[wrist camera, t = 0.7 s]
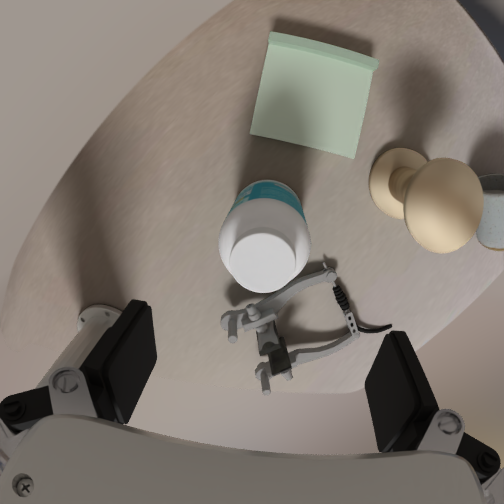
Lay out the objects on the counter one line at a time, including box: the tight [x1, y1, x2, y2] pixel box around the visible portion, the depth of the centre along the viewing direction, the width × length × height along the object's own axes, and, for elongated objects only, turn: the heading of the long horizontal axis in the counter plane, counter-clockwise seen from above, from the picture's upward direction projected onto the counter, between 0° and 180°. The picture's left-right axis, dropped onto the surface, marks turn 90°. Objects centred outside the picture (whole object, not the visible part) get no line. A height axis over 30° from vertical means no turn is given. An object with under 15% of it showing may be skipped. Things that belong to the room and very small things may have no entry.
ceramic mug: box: [476, 174, 504, 251], centre depth 27 cm, size 10×8×7 cm
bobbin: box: [369, 148, 484, 253], centre depth 26 cm, size 8×8×11 cm
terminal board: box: [250, 31, 379, 159], centre depth 27 cm, size 11×11×3 cm
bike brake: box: [221, 262, 392, 395], centre depth 36 cm, size 14×7×20 cm
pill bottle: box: [219, 180, 311, 293], centre depth 27 cm, size 8×7×14 cm
